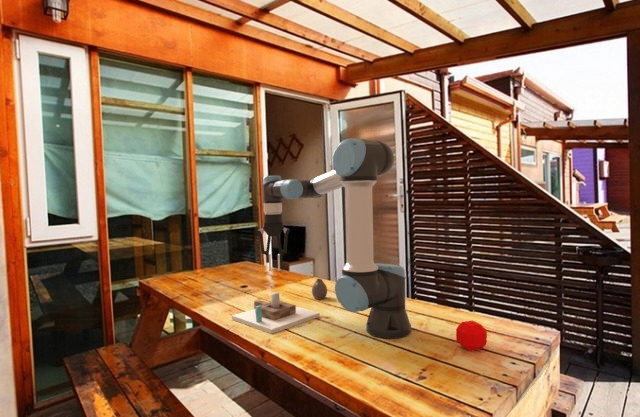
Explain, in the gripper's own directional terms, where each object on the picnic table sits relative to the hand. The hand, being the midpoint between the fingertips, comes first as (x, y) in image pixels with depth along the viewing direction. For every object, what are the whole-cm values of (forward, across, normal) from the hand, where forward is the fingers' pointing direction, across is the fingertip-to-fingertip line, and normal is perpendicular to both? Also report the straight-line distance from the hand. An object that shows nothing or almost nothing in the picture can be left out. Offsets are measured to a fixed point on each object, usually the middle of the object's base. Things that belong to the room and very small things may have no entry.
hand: (274, 270), depth 162 cm
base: (+17, 0, +10) cm, 20 cm away
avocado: (+17, -20, -14) cm, 30 cm away
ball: (+17, -59, +50) cm, 79 cm away
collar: (+15, +2, +8) cm, 17 cm away
